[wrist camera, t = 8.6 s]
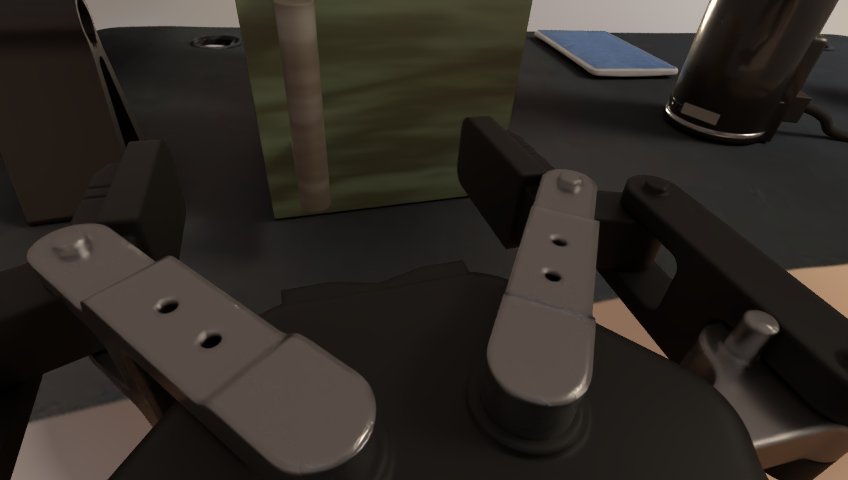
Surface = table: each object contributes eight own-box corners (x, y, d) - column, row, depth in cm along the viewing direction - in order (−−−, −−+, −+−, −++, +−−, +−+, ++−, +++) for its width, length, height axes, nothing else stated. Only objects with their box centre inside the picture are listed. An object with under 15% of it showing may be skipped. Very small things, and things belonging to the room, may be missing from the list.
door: (529, 235, 30) (615, -97, 19) (278, 272, 26) (203, -126, 15) (491, 186, 35) (542, -104, 24) (273, 211, 30) (213, -127, 20)
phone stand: (61, 159, 34) (-27, -21, 27) (150, 150, 36) (90, -21, 29) (29, 228, 28) (-99, 15, 20) (139, 212, 30) (59, 12, 22)
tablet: (531, 37, 71) (533, 28, 70) (604, 37, 73) (606, 29, 73) (590, 80, 56) (593, 69, 56) (678, 79, 59) (683, 68, 58)
